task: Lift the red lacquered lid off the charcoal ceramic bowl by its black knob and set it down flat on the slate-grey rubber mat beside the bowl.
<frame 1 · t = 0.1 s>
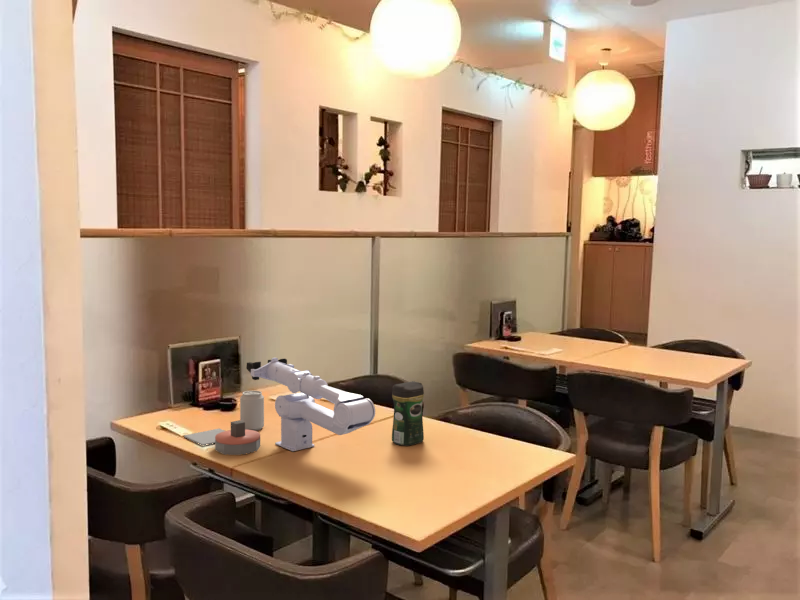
hand: (258, 364, 219), 22 cm above the table, tool horizontal, fingers open, 7 cm apart
can: (252, 429, 224), on the table
bowl: (238, 448, 204), on the table
lid: (237, 438, 204), point 3 cm above the table, touching bowl
coffee jar: (407, 442, 212), on the table
mat: (211, 438, 213), on the table
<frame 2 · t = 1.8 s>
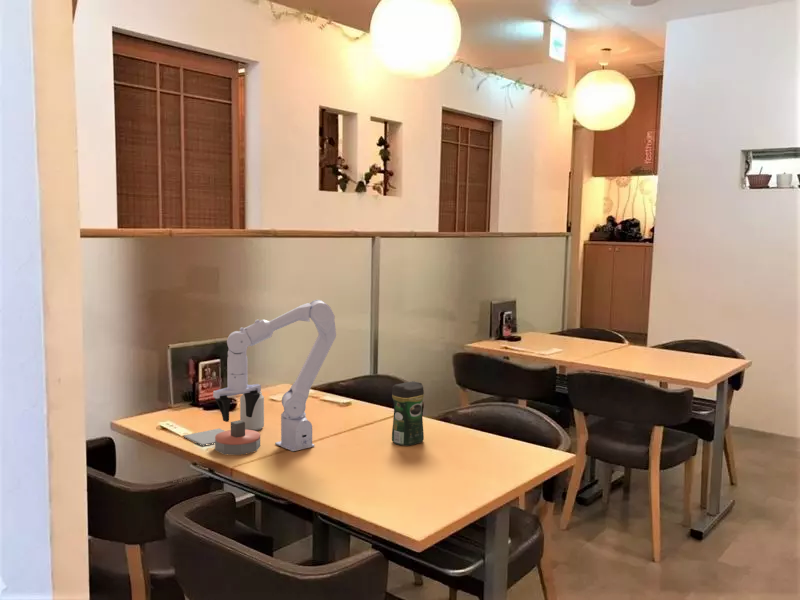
hand: (237, 418, 203), 9 cm above the table, tool pointing down, fingers open, 7 cm apart
nothing on the table moved.
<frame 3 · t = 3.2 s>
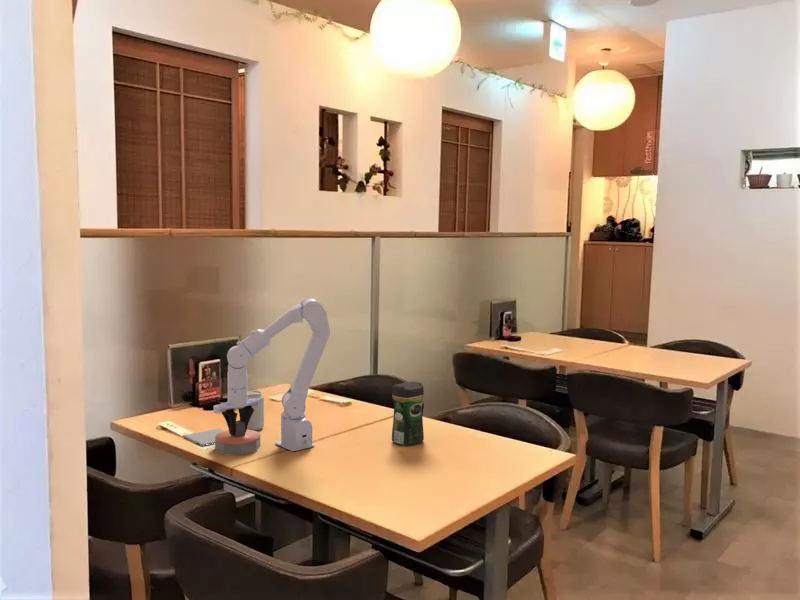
hand: (237, 433, 203), 5 cm above the table, tool pointing down, fingers closed on lid, 3 cm apart
lid: (237, 438, 204), point 3 cm above the table, touching bowl, gripper
everything else where it was.
when the fingers open (4 cm above the table, at t = 7.2 s): lid drops 1 cm, resting on mat.
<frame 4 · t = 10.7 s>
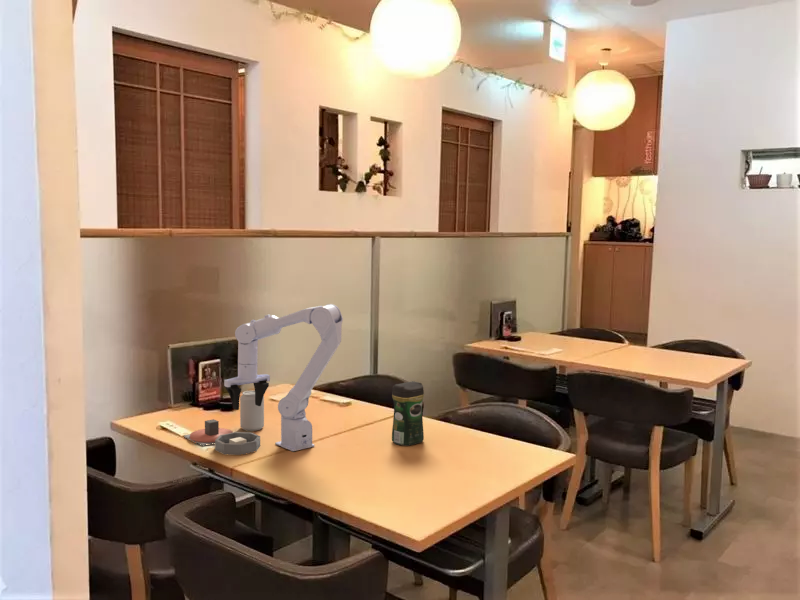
hand: (247, 407, 210), 10 cm above the table, tool pointing down, fingers open, 7 cm apart
lid: (211, 436, 213), point 1 cm above the table, touching mat
everything else where it was.
at the end: lid 0.3 cm off-centre on the mat, point 0.6 cm above the mat's base; lid tilted 0°; lid touching mat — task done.
